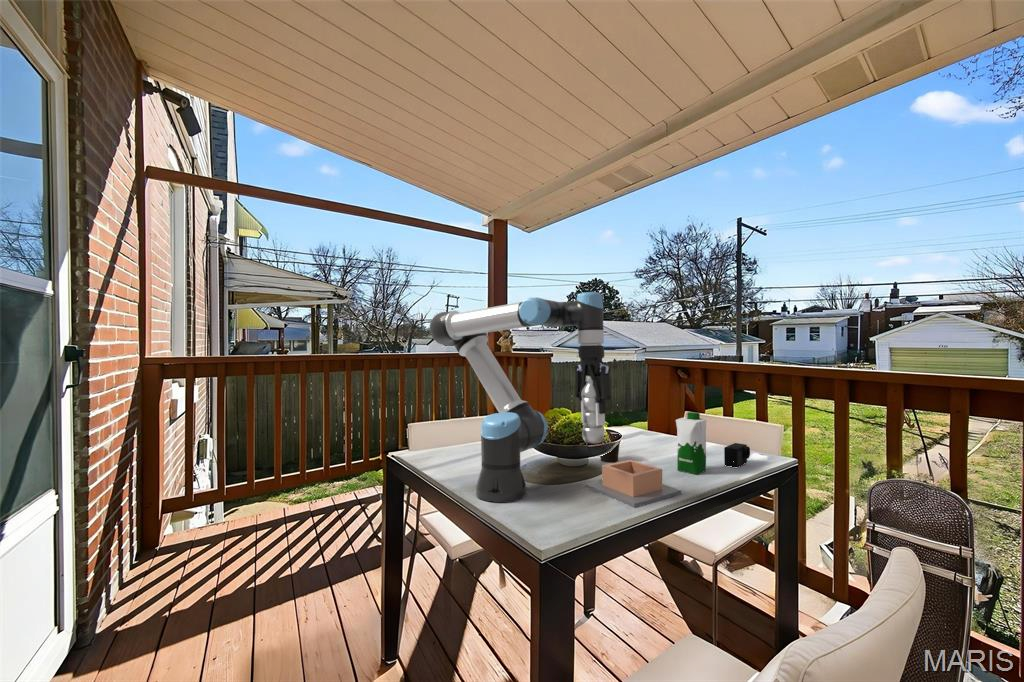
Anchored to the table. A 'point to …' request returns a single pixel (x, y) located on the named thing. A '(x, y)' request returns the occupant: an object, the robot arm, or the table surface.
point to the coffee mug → (611, 454)
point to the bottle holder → (632, 483)
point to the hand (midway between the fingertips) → (593, 423)
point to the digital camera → (736, 454)
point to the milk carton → (691, 443)
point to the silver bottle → (590, 414)
